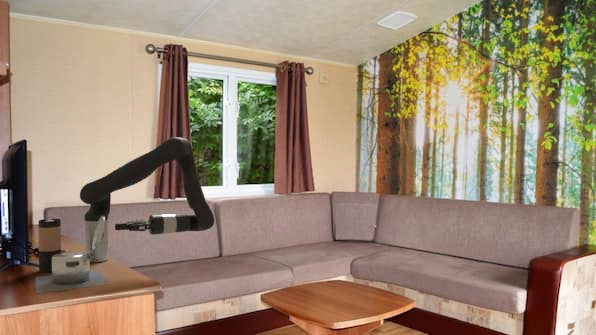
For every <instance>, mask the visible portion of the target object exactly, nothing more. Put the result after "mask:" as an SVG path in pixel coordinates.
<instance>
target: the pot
mask: <svg viewBox="0 0 596 335" xmlns="http://www.w3.org/2000/svg"><path fill="white" fill-rule="evenodd" d="M90 259H93V255H91V254H89V253H87V252H85V251H69V252H61V253H60V254H56V255H53V256H52V273H51V275H52V283H53V284H55V285H74V284H80V283H83V282H86V281H88V280H89V279H90V271H91V270H90V263H91V262H90Z"/></svg>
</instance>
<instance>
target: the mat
mask: <svg viewBox="0 0 596 335" xmlns="http://www.w3.org/2000/svg"><path fill="white" fill-rule="evenodd" d="M34 279H35V280H34V281H35V294H38V293H48V292H56V291H65V290H73V289H81V288H89V287H96V286H106V285H107V286H108V285H109V282H108V281H107V278H106V277H105V275H104V274H103V272H102V270H101V269H98V270H90V279H89V280H88V281H86V282H83V283H80V284H74V285H55V284H53V283H52V274H50V275H44V276H36V277H35V278H34Z"/></svg>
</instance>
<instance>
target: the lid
mask: <svg viewBox="0 0 596 335" xmlns="http://www.w3.org/2000/svg"><path fill="white" fill-rule="evenodd" d="M104 227H105V216H101V217H100V219H99V221H98V224H97V227H96V230H95V234H94V238H93V243H92V250H90V253H91V255H94V254H95V253H94V252H96V251H97V250H98V247H99V245H100V242H101V239H102V237H103V236H104V233H103V232H104Z"/></svg>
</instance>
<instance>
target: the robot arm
mask: <svg viewBox="0 0 596 335" xmlns="http://www.w3.org/2000/svg"><path fill="white" fill-rule="evenodd" d="M173 161H177V162H178V166H180V169H181V172H182V183H183V184H182V187H183V192H184V196H185V199H186V201H187V205H188V206H189V208H190V209H191V210H192V211H193V213H194V214H184V213H177V214H176V213H175V214H168V213H167V214H166V213H165V214H151V215H149V216H148V217H149V218H148V220H145V219H136V220H131V221H126V222H124V223H122V222H121V223H115V225H114V230H115V231H128V232H129V231H130V232H146V231H147V230H148V232H149V234H150V235H151V236H153V235H168V234H173V233H185V232H204V231H206V230H210V229H211V228H212V227H214V225H215V217H214V216H215V215H214V214H213V212H212V210H211V208H210V206H209V204H208V203H207V200H206V197H205V194H204V192H203V189H202V186H201V183H200V182H201V181H200V179H199V176H198V172H197V167H196V163H195V157H194V150H193V147H192V144H191V142H190V141H189V139H187V138H184V137H177V136H175V137H170V138H168V139H167V140H165V141H164V142H162V143H161V144H160V145H158V146H157V147H155V148H154V149H152V150H151V151H148V152H145V153H144V154H142V155H139V156H138V157H136V158H134V159H132V160H130V161H128V162H127V163H125V164H123V165H122V166H120V167H118V168H116V169H115V170H112V172H109V173H108V174H106V175H104V176H103V177H100V178H98V179H95V180H93V181H91V182H89V183H86V184H84V185H83V186H82V187H81V189H80V192H79V199H80V200H81V201H82V202H83V203H84V204H86V205H90V206H89V210H87V212H85V214H84V252H87V253H89V254H91V253H90V250H92V243H93V238H94V234H95V230H96V227H97V224H98V221H99V219H100V217H101V216H105V227H104V232H103V233H104V236H103V237H102V239H101V242H100V245H99V247H98V250H97V251H96V252H94V253H95V254H94V255H93V259H90V263H101V262H105V261H108V260H109V215H110V212H111V198H112V196H111V193H113V192H116V191H119V190H123V189H125V188H128V187H131V186H134V185H136V184H139V183H140V182H142V181H144V180H145V179H147V178H148V177H150V176H151V175H152V174H153V173H154V172H155V171H156V170H158V168H161V167H162V166H164V165H166V164H169V163H171V162H173Z"/></svg>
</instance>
